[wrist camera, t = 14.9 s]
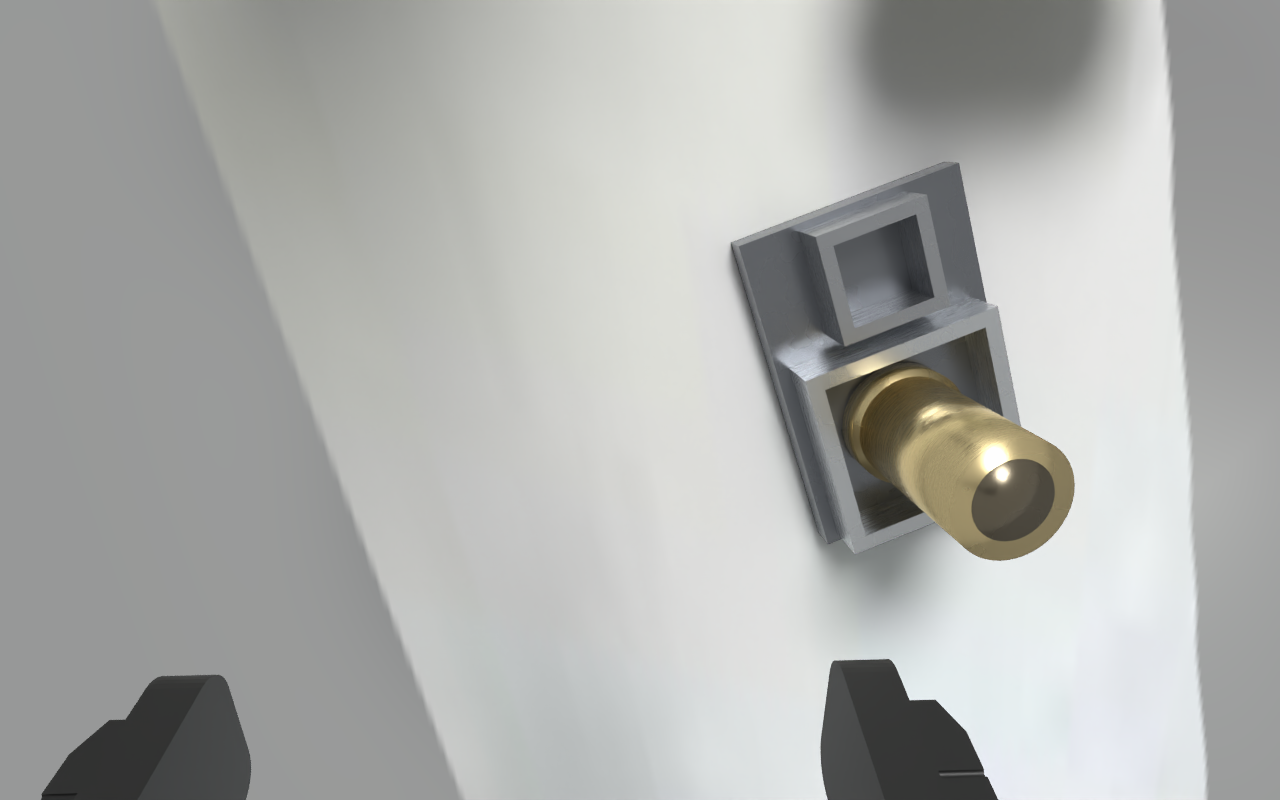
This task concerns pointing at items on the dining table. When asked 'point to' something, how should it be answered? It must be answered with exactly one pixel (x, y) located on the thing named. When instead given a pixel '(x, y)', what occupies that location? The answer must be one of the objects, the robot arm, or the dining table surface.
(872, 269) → the plate
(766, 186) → the dining table surface
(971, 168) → the dining table surface
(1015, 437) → the brass fitting
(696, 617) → the dining table surface
